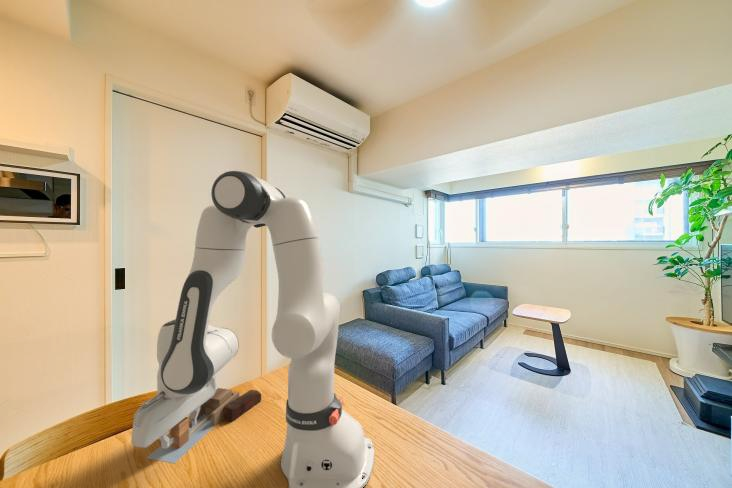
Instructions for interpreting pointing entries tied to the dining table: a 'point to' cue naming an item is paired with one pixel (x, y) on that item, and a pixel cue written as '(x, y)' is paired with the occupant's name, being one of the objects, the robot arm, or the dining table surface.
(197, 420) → the shelf lane
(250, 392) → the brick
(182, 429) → the tethered block
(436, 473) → the dining table surface
